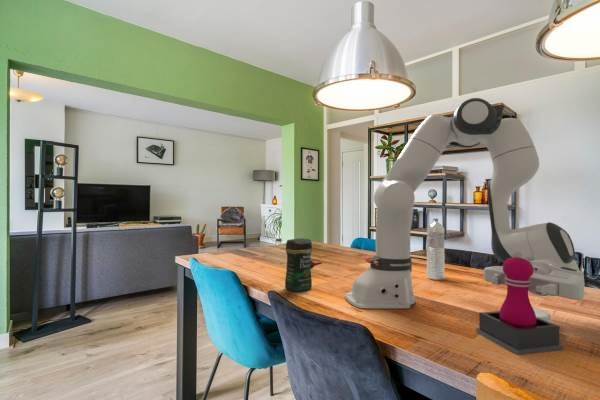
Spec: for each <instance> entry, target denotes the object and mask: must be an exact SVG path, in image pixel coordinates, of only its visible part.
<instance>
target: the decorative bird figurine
mask: <svg viewBox="0 0 600 400" xmlns="http://www.w3.org/2000/svg"><path fill="white" fill-rule="evenodd" d="M322 264H323V262H320V261H318V262H315V261H313V260H312V259H310V266H311V270H312V269H314V267H315V266H318V265H322Z"/></svg>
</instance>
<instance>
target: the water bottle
mask: <svg viewBox="0 0 600 400" xmlns="http://www.w3.org/2000/svg"><path fill="white" fill-rule="evenodd" d="M426 236H427V237H426V278H427V279H429V280H433V281H443V280H444V279H445V271H446V270H445V266H446V265H445V263H446V262H445V261H446V259H445V252H446V251H445V227H444V226H443V225H442V224H441V222H439V218H433V222H431V223H430V224H429V225H427V227H426Z"/></svg>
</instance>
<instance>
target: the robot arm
mask: <svg viewBox="0 0 600 400" xmlns="http://www.w3.org/2000/svg"><path fill="white" fill-rule="evenodd" d="M481 143H482V145H484V146H485V147H486V148H487V150H488V151H489V155H490V157H491V161H492V171H493V172H492V176H491V178H490V179H489V181H488V182H487V189H486V190H487V193H486V194H487V203H488V211H489V221H490V227H491V228H490V229H491V240H490V241H491V245H490V246H491V251H492V254H493V255H494V257H496V258H497V259H498V260H499V261H501V262H502V263H504V262H505V261H506V260H507V259H509V258H513V257H514V256H513V253H514V252H515V251H519V252H521V253H522V257H521V258H523V259H526V260H528V261H529V262H530V263H531V264H532V266H533V275H532V276H531V277H530V278H529V280H530V281H531V282H530V284H531V286H530V287H528V293H531V294H533V295H536V296H540V297H547V296H550V297H560V298H564V299H569V300H574V301H580V300H583V298H584V295H585V275H584V272H583V271H581V270H580V268H579V265H578V263H577V262H576V260H574V258H575V255H576V254H575V252H576V251H575V247H574V243H573V240H572V238H571V236H570V234H569V233H568V232H567V230H565V229H564V228H563V227H561V226H559V225H558V224H555V223H554V222H551V221H549V222H543V223H538V224H533V225H528V226H523V227H518V228H513V229H512V228H511V225H510V224H511V223H510V216H509V215H510V214H509V209H508V201H509V199H510V198H511V196H512V195H513V194H514V193H515V192H516V191H517V190H518V189H520V188H521V187H522V186H524V185H526V184H527V183H528V182H530V180H532V179H533V178H534V176H535V175H536V174H537V172H538V171H539V167H540V159H539V156H538V155H539V154H538V152H537V148H536V146H535V144H534V142H533V140H532V137H531V135H530V133H529V132H528V130H527V128H526V126H525V125H524V123H523V121H521V120H520V119H517V118H514V117H508V118H507V117H506V118H502V114H501V112H500V111H498V110H497V109H495V107H494V106H493V104H491V103H489V102H488V101H487V100H485V99H483V98H480V97H479V98H478V97H473V98H469V99H467V100H465V101H463V102H461V103H460V104H459V106H458V107H457V108H456V109H455V111H454V114H453V116H450V117H447V116H444V115H441V114H431V115H428V116H427V117H426V118H425V119H424V120H423V121H422V122H421V123H420V125H419V126H418V127H417V128H416V129H415V130H414V132H413V134H412V135H411V137H410V138H409V140H408V141H407V143H406V144H405V146H404V147H403V149H402V151H401V152H400V154H399V156H398V157H397V158H396V160H395V162H394V163H393V164H392V165H391V167H390V168H389V170H388V172H387V173H386V175H385V176H384V178H383V179H382V180H381V182H380V183H379V185H378V186H377V188H376V189H375V191H374V195H373V201H374V204H375V206H376V208H377V209H376V211H377V212H376V223H375V254H374V255H373V257H370V256H365V258H364V261H365V262H366V263H367V264H370V267H368V268H367V269H365V270H364V272H362V273H361V274H359V275H358V276H357V277H356V278H355V279H354V280H353V283H352V287H351V289H352V290H351V291H350V292H346V293H345V300H346V301H347V302H348V303H349V304H351V305H352V306H354V307H356V308H359V309H410V308H411V306H412V305H413V304H415V303H416V297H415V295H414V290H413V284H412V269H413V266H412V263H413V262H412V260H413V259H412V257H411V229H412V225H413V224H412V223H413V215H414V204H415V199H416V198H415V192H416V190H417V189H418V188H419V187H420V185H421V184H423V181H424V180H426V179H427V177H428V176H429V174H430V172H431V171H432V170H433V168H434V166H435V165H436V163H437V162H438V160H439V158H440V157H441V155H442V154H443V152H444V151H445V150H446V148H447V146H448V145H449V146H453V147H454V146H456V147H459V148H462V149H463V148H465V149H468V148H469V149H470V148H474V147H477V146H478V145H480V144H481ZM505 277H507V275H506V274H505V273H504V272H503V265H494V266H493V265H492V266H487V267H485V268H484V269H483V279H484V281H486V282H488V283H491V284H492V285H496V286H500V285H501V286H506V287H507V284H506V283H505V281H506V279H505Z"/></svg>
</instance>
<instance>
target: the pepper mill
mask: <svg viewBox="0 0 600 400" xmlns="http://www.w3.org/2000/svg"><path fill="white" fill-rule="evenodd" d="M513 256H514V257H513V258H509V259H507V260H506V261H505V262H502V266H503V272H504V273H505V274H506V275H507V277H505V279H506V281H505V283H506V284H507V286H506V288H507V289H506V291H507V292H506V296H505V299H504V301H503V302H502V304H501V306H500V308H499V311H500V314H499V316H500V319H501V320H502V321H503V322H505V323H507V324H510V325H512V326H514V327H516V328H525V327H534V326H535V325H536V315H535V312H534V310H533V308H532V307H533V306H532V304H531V301H530V298H529V291H528V287H530V286H531V284H530V282H531V281H530V280H529V278H530V277H531V276H532V275H533V266H532V264H531V263H530V261H528V260H526V259H523V258H521V257H522V253H521V252H519V251H515V252H514V253H513Z"/></svg>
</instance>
